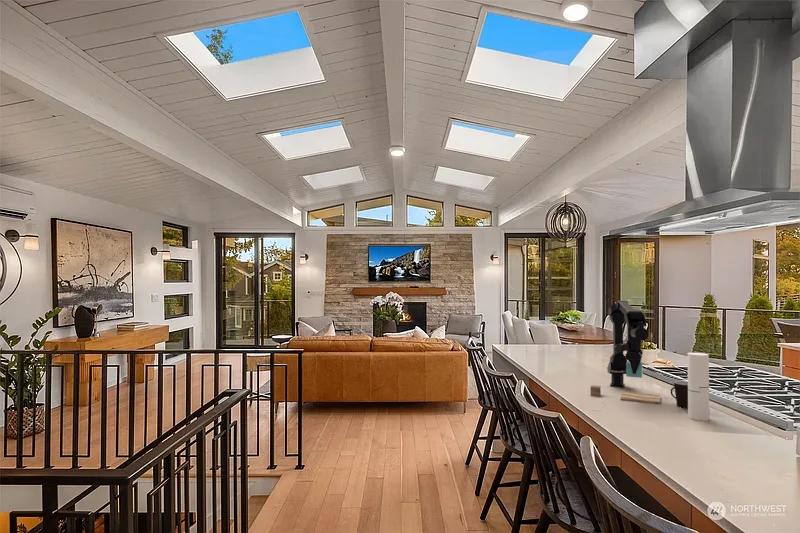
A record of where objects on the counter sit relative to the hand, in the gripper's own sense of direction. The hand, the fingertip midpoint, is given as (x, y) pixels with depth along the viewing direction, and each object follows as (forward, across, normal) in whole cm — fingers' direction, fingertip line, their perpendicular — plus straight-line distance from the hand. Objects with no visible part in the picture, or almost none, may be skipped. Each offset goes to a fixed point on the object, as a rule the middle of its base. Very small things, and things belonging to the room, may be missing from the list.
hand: (634, 372), depth 233 cm
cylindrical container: (+12, +24, +24) cm, 36 cm away
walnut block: (+12, +1, -17) cm, 20 cm away
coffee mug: (+12, +7, +18) cm, 23 cm away
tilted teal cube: (+2, 0, 0) cm, 2 cm away
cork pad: (+12, 0, +2) cm, 12 cm away
